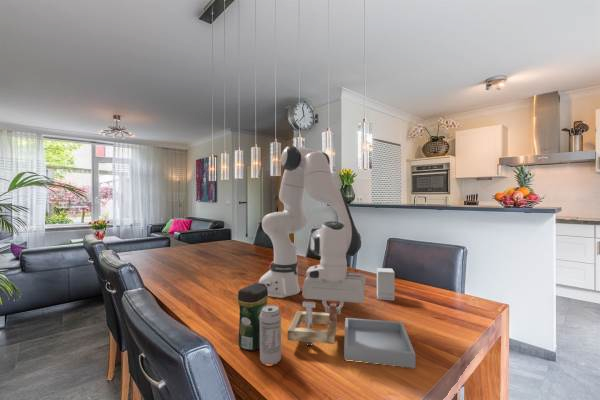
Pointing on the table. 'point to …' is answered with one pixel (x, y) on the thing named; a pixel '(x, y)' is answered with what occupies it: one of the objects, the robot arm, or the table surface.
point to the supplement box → (385, 284)
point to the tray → (378, 342)
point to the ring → (314, 334)
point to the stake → (309, 315)
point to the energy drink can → (270, 334)
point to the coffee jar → (251, 314)
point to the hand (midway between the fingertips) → (332, 312)
